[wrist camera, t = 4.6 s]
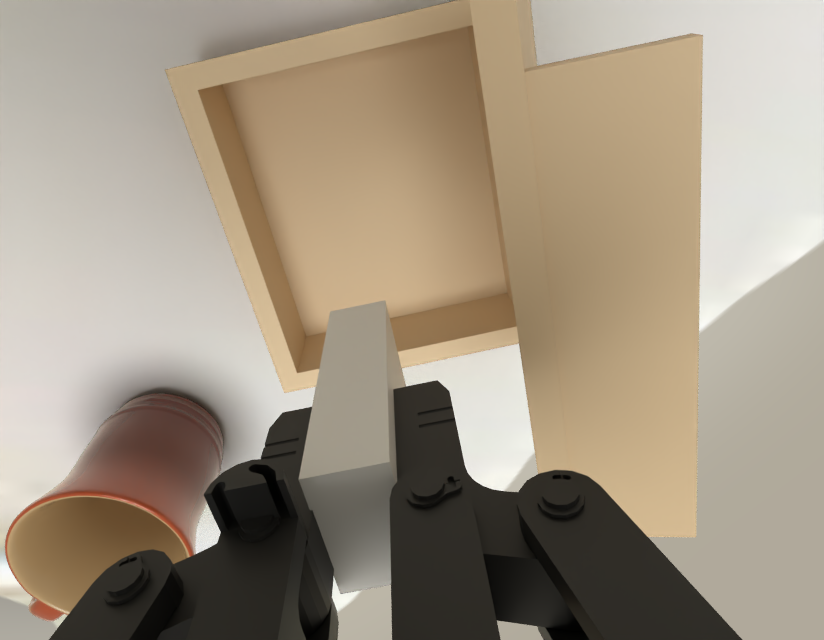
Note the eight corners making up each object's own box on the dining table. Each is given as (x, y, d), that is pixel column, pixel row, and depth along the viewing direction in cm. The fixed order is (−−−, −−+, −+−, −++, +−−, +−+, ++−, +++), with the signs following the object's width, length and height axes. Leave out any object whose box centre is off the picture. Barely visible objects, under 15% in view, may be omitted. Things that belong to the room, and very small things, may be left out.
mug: (151, 349, 34) (66, 461, 25) (267, 429, 37) (231, 556, 28) (45, 467, 37) (-64, 605, 28) (160, 532, 40) (95, 676, 31)
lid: (463, -42, 10) (705, -108, 9) (507, -13, 22) (611, -39, 21) (554, 587, 17) (696, 591, 16) (549, 344, 29) (629, 338, 28)
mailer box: (199, 66, 28) (164, 69, 23) (482, -1, 27) (503, -11, 22) (296, 348, 34) (284, 393, 30) (523, 299, 34) (545, 337, 29)
